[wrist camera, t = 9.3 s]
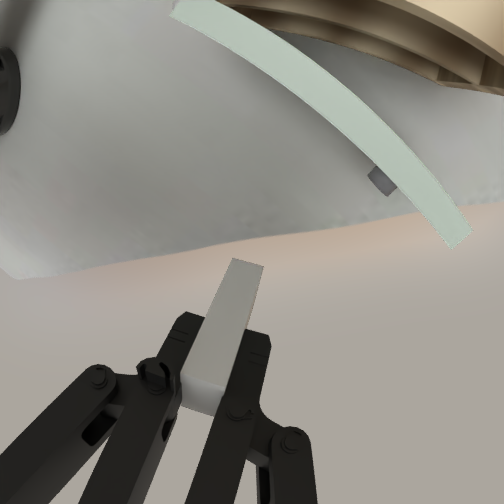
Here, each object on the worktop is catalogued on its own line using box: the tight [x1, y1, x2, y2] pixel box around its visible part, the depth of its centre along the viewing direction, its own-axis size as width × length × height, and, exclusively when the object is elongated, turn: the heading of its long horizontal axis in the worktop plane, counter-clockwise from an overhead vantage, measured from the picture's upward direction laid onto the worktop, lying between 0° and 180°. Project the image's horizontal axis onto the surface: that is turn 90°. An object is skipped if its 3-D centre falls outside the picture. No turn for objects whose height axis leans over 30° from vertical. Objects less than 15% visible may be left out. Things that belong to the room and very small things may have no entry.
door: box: [170, 0, 473, 249], centre depth 16 cm, size 18×3×13 cm, turn 54°
